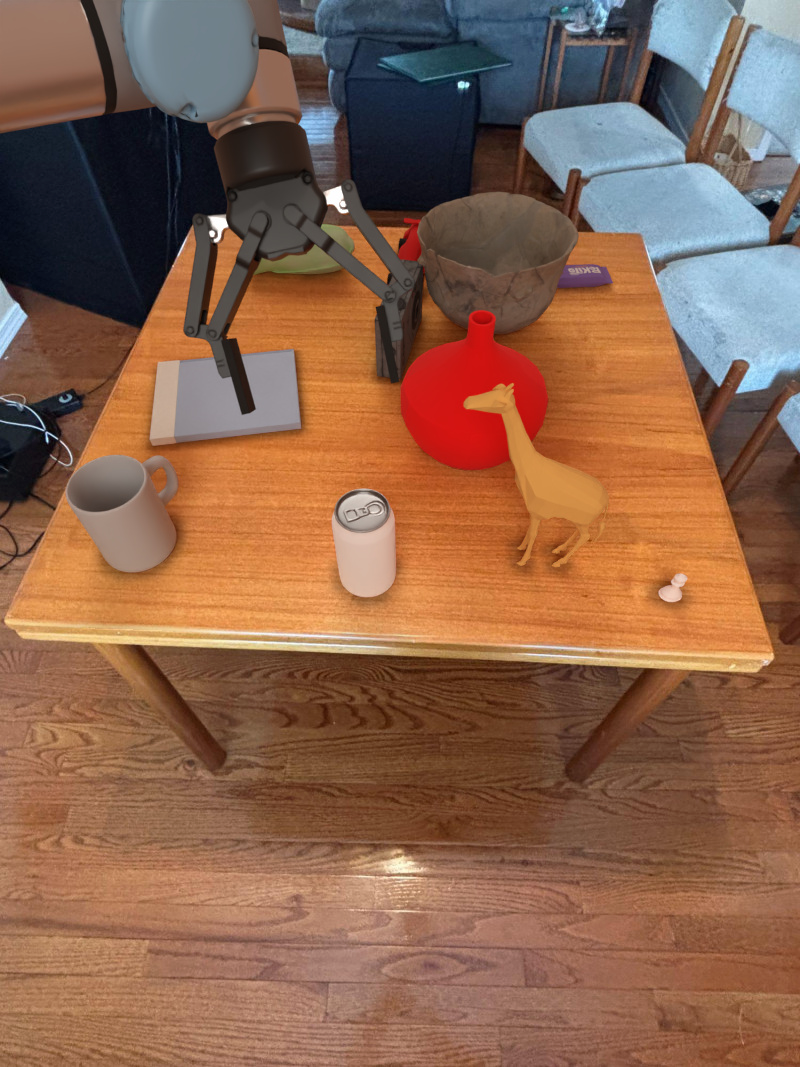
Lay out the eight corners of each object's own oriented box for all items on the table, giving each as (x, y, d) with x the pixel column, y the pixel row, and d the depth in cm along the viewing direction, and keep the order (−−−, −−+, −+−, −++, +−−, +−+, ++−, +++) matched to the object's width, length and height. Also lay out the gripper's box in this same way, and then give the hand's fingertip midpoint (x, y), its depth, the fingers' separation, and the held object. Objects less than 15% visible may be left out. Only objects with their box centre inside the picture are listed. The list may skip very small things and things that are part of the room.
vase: (372, 451, 84) (365, 328, 69) (450, 378, 93) (459, 254, 78) (489, 516, 78) (510, 397, 62) (561, 431, 86) (596, 308, 71)
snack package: (607, 261, 108) (615, 278, 105) (604, 271, 109) (611, 288, 106) (540, 263, 107) (545, 280, 104) (538, 273, 109) (543, 291, 106)
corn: (352, 261, 102) (229, 264, 103) (357, 283, 111) (243, 285, 111) (352, 211, 103) (229, 214, 103) (356, 236, 111) (243, 239, 111)
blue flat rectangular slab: (152, 446, 85) (149, 439, 84) (160, 368, 95) (157, 361, 94) (301, 429, 87) (300, 422, 86) (294, 355, 96) (293, 348, 95)
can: (404, 589, 72) (404, 525, 62) (349, 606, 70) (340, 543, 61) (385, 545, 75) (382, 478, 66) (332, 561, 74) (322, 495, 64)
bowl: (390, 315, 102) (389, 222, 90) (486, 265, 111) (496, 175, 98) (488, 383, 92) (501, 290, 80) (585, 323, 101) (610, 231, 89)
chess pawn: (678, 587, 72) (691, 567, 68) (683, 602, 70) (697, 583, 67) (655, 587, 72) (667, 568, 68) (660, 603, 70) (672, 584, 67)
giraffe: (448, 564, 74) (463, 399, 53) (450, 533, 76) (467, 366, 56) (591, 578, 72) (663, 415, 52) (589, 547, 75) (657, 380, 55)
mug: (139, 585, 72) (102, 527, 63) (88, 552, 75) (46, 492, 66) (212, 515, 78) (187, 453, 69) (162, 487, 81) (132, 424, 72)
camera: (400, 385, 92) (400, 326, 84) (374, 381, 93) (371, 322, 85) (423, 318, 102) (424, 260, 94) (399, 315, 102) (398, 256, 94)
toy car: (384, 301, 104) (383, 273, 100) (402, 244, 115) (402, 216, 111) (419, 304, 104) (420, 276, 100) (434, 247, 114) (435, 219, 110)
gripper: (409, 112, 54) (453, 365, 60) (127, 178, 55) (200, 418, 62) (412, 80, 47) (461, 371, 53) (88, 156, 48) (176, 431, 55)
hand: (321, 397), depth 58 cm, fingers open, 13 cm apart
